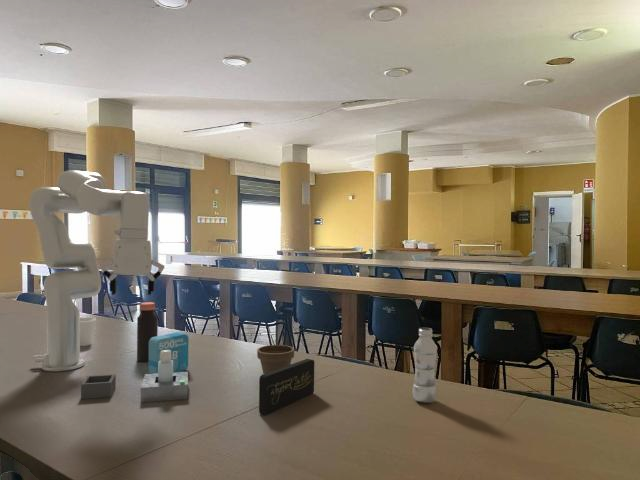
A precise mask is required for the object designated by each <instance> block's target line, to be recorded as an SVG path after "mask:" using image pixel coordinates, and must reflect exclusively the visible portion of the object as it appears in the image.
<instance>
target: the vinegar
mask: <svg viewBox="0 0 640 480" xmlns="http://www.w3.org/2000/svg"><path fill="white" fill-rule="evenodd" d="M139 306H140V307H139V311H140V314H138V316H137V319H136V320H137V321H136V322H137V324H136V325H137V326H136V327H137V328H136V340H137V341H136V360H137V361H138V362H140V363H147V362H148V363H149V340H150V339H151V338H152V337H156V336H158V333H159V332H158V330H159V329H158V327H159V325H158V322H159V321H158V319H159V318H158V316H157V314H156V313H155V310H156V303H155V302H152V301H148V302H147V301H145V302H141V303H139Z"/></svg>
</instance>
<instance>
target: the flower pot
mask: <svg viewBox="0 0 640 480" xmlns="http://www.w3.org/2000/svg"><path fill="white" fill-rule="evenodd" d="M256 353H257V355H256V356H257V359H258V360H259V361H260V364H261V368H262V369H261V370H262V373H263V374H265V373H268V372H271V371H274V370H277V369H279V368H282V367H285V366H288V365H291V363H292V360H293V358H295V348H294V347H293V346H291V345H290V346H289V345H286V344H269V345H265V346H260V347H259V348H257V349H256Z"/></svg>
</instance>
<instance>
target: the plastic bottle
mask: <svg viewBox="0 0 640 480" xmlns="http://www.w3.org/2000/svg"><path fill="white" fill-rule="evenodd" d="M433 335H434V334H433V329H432V328H430V327H419V328H418V336H419V337H418V339H417V340H416V341H415V343H414V345H413V356H414V367H415V368H414V371H415V372H414V380H413V385H412V396H413V398H414V401H416V402H418V403H425V404H426V403H428V404H429V403H432V402H434V401H435V400H436V398H437V388H436V386H437V385H436V379H435V368H436V359H437V353H438V347H437V345H436V343H435V341H434V339H433V338H432V337H434V336H433Z"/></svg>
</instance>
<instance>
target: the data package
mask: <svg viewBox="0 0 640 480" xmlns="http://www.w3.org/2000/svg"><path fill="white" fill-rule="evenodd" d="M189 340H190V339H189V336H188V334H185V333H182V332H172V333H167V334H162V335H161V334H160V335H157V336H156V337H152V338H151V339H150V340H149V362H148V374H157V373H158V362H159V361H161V351H162V350H171V360H173V372H186V370H187V369H188V368H189Z"/></svg>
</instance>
